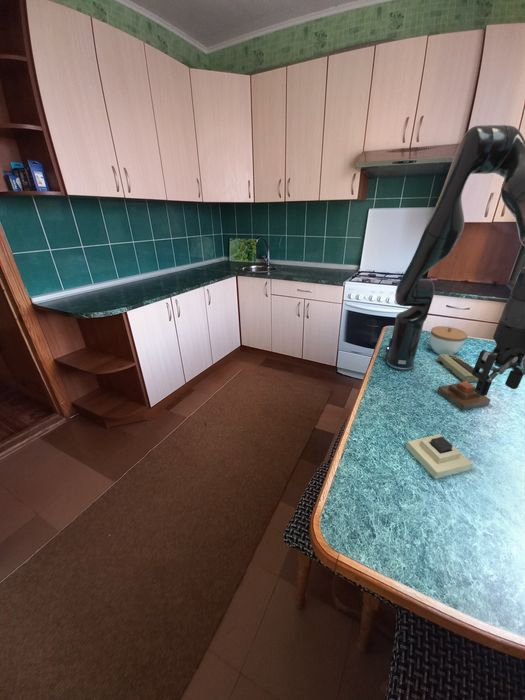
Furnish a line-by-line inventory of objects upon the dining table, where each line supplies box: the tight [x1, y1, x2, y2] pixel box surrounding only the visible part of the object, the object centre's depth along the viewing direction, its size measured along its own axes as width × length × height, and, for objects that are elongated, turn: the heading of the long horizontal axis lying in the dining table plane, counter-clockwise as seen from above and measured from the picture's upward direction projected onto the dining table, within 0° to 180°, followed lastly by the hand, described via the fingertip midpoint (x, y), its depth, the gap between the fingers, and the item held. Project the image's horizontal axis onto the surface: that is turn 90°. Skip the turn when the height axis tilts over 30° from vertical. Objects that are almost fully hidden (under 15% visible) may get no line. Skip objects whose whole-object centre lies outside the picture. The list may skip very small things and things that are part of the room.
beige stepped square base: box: [405, 433, 474, 480], centre depth 71 cm, size 10×10×4 cm
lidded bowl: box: [429, 325, 468, 356], centre depth 119 cm, size 13×13×11 cm
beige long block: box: [436, 354, 479, 383], centre depth 107 cm, size 16×8×3 cm, turn 3°
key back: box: [457, 381, 476, 393], centre depth 91 cm, size 3×3×2 cm
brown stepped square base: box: [436, 382, 492, 412], centre depth 92 cm, size 10×10×4 cm
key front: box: [430, 436, 454, 454], centre depth 70 cm, size 3×3×2 cm
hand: (495, 390), depth 63 cm, fingers open, 8 cm apart
